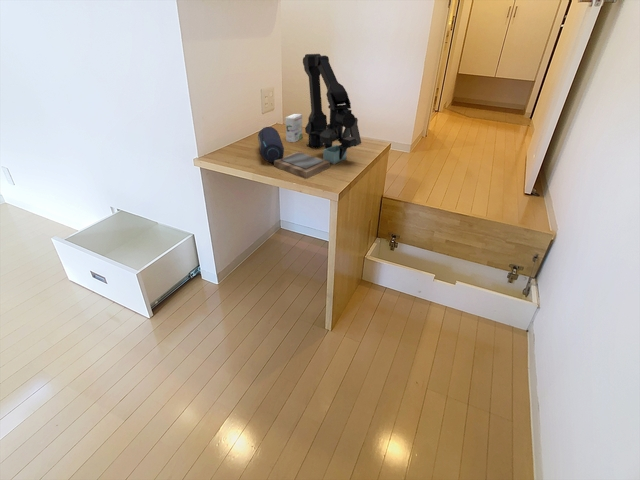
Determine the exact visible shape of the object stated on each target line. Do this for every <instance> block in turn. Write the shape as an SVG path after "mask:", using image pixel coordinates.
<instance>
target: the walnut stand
mask: <svg viewBox="0 0 640 480" xmlns="http://www.w3.org/2000/svg"><path fill="white" fill-rule="evenodd" d="M273 167H274V168H277V169H280V170H282V171H284V172H288V173H290V174H293V175H295V176H298V177H301V178H304V179H308V178H311V177H312V176H315V175H317V174H320V173H322V172H323V171H326V170H328V169H330V168H331V163H330V162H329V161H326V160H323V158H320V157H316V156H313V155H310V154H307V153H305V152H301V151H296V152H293V153H290V154H289V155H288V154H287V155H285V156H283V157H282V158H281V159H277V160H274V162H273Z"/></svg>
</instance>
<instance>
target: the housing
mask: <svg viewBox="0 0 640 480" xmlns="http://www.w3.org/2000/svg"><path fill="white" fill-rule="evenodd" d="M339 145H340V144H339ZM339 145H338V144H333V145H332V146H331V147H329V148H326V147H325V148H324V149H323V151H322V152H323V154H322V159H323V160H326V161H329V162H330V165H331V164H332V165H335V164H338V163H340V162H342V161H344V160H346V159H347V154H348V153H347V152H348V149H347V150H346V152H345V154H344V155H343V157H342V159H341V160H340V158H339V154H340V148H339Z"/></svg>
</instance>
